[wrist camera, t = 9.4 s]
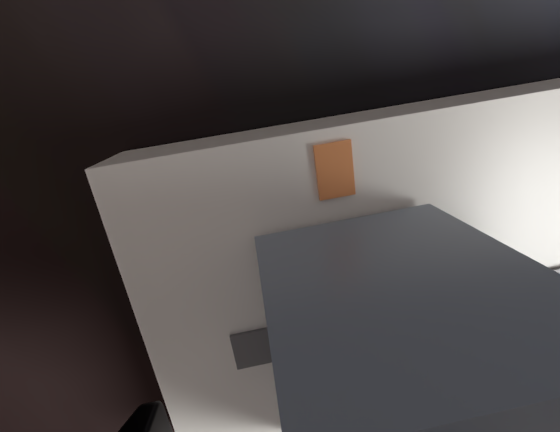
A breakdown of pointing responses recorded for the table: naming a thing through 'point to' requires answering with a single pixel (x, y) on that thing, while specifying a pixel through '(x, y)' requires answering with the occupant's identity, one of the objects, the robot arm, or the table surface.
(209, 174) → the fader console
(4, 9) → the table surface
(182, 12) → the table surface
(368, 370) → the fader tab
